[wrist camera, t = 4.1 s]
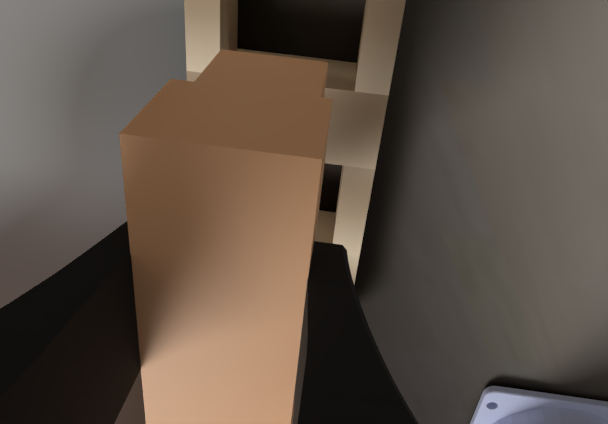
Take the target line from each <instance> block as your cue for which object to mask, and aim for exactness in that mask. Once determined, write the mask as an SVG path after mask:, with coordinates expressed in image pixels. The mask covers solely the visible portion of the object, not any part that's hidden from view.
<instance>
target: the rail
mask: <svg viewBox="0 0 608 424" xmlns="http://www.w3.org/2000/svg"><path fill="white" fill-rule="evenodd" d="M184 1H185V2H184V4H185V32H186V33H185V34H186V63H187V64H186V65H187V81H192V82H194V81H195V80H196V79H197V78H198V77H199V75H200V74H201V73H202V72H203V71H204V69H205V68H206V67H207V66H208V65H209V63H210V62H211V61H212V60H213V58H214V57H215V56H216V55H217V54H218V52H219V51H220V50H221V49H224V50H233V51H241V52H249V53H258V54H266V55H274V56H283V57H291V58H299V59H307V60H316V61H324V62H328V69H327V78H326V87H325V96H324V98H330V99H333V100H332V108H331V116H330V124H329V132H328V140H327V148H326V157H325V163H327V164H335V165H342V171H341V178H340V185H339V192H338V199H337V206H336V212H328V211H321V210H319V214H318V222H317V230H316V238H315V241H318V242H325V243H333V244H340V245H343V246H344V247H345V248H346V250H347V255H348V262H349V267H350V272H351V275H352V279H353V283H354V284H355V278H356V273H357V267H358V262H359V256H360V251H361V245H362V240H363V234H364V229H365V223H366V218H367V212H368V207H369V201H370V196H371V190H372V185H373V179H374V173H375V168H376V162H377V157H378V151H379V146H380V140H381V135H382V129H383V124H384V118H385V113H386V107H387V102H388V96H389V91H390V85H391V80H392V74H393V69H394V63H395V58H396V52H397V47H398V41H399V36H400V30H401V25H402V19H403V14H404V8H405V3H406V0H366V3H365V10H364V17H363V24H362V31H361V38H360V45H359V52H358V59H357V63H355V62H346V61H338V60H330V59H321V58H313V57H305V56H296V55H288V54H280V53H271V52H263V51H255V50H246V49H238V48H237V34H238V0H184Z"/></svg>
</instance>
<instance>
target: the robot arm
mask: <svg viewBox="0 0 608 424" xmlns="http://www.w3.org/2000/svg"><path fill="white" fill-rule="evenodd" d="M140 369H141V363H140V352H139V340H138V329H137V318H136V306H135V295H134V283H133V272H132V260H131V254H130V245H129V234H128V223H127V222H125V223H124V224H123V225H121V226H120V227H119V228H117V229H116V230H115V231H113V232H112V233H110V234H109V235H108V236H107V237H105V238H104V239H102V240H101V241H100V242H98V243H97V244H96V245H94V246H93V247H92V248H90V249H89V250H87V251H86V252H85V253H83V254H82V255H81V256H79V257H78V258H76V259H75V260H74V261H72V262H71V263H69V264H68V265H66V266H65V267H64V268H62V269H61V270H59V271H58V272H57V273H55V274H54V275H52V276H51V277H49V278H48V279H46V280H45V281H43V282H41V283H40V284H39V285H37V286H35V287H34V288H32V289H31V290H29V291H28V292H26V293H25V294H23V295H21V296H20V297H18V298H17V299H15V300H14V301H12V302H10V303H9V304H7V305H6V306H4V307H2V308H1V309H0V424H114V423H115V421H116V419H117V417H118V414H119V412H120V410H121V408H122V406H123V404H124V402H125V400H126V398H127V396H128V394H129V392H130V390H131V388H132V386H133V384H134V382H135V380H136V377H137V375H138V373H139V371H140ZM293 424H418V422H417V420H416V419H415V417H414V415H413V414H412V412H411V411H410V409H409V407H408V406H407V404H406V402H405V400H404V398H403V397H402V395H401V393H400V391H399V389H398V388H397V386H396V384H395V382H394V380H393V378H392V376H391V374H390V372H389V370H388V368H387V366H386V364H385V362H384V360H383V358H382V356H381V354H380V352H379V349H378V347H377V345H376V343H375V341H374V338H373V336H372V333H371V331H370V329H369V326H368V323H367V321H366V318H365V315H364V313H363V310H362V308H361V305H360V302H359V299H358V296H357V293H356V290H355V286H354V283H353V279H352V275H351V272H350V267H349V262H348V255H347V250H346V248H345V247H344V246H343V245H340V244H333V243H325V242H318V241H314V246H313V251H312V257H311V263H310V269H309V276H308V279H307V288H306V297H305V306H304V314H303V323H302V332H301V341H300V349H299V358H298V367H297V375H296V384H295V396H294V418H293ZM470 424H608V402H607V401H600V400H593V399H586V398H579V397H572V396H565V395H558V394H551V393H543V392H536V391H529V390H522V389H515V388H508V387H501V386H490V387H487V388H486V389H485V390H484V391H483V393H482V395H481V398H480V400H479V403H478V405H477V408H476V410H475V412H474V415H473V417H472V420H471V422H470Z"/></svg>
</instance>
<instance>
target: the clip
mask: <svg viewBox="0 0 608 424" xmlns="http://www.w3.org/2000/svg"><path fill="white" fill-rule="evenodd" d="M327 69H328V62H324V61H316V60H307V59H299V58H291V57H283V56H274V55H266V54H258V53H249V52H241V51H233V50H224V49H221V50H220V51H219V52H218V54H217V55H216V56H215V57H214V58H213V60H212V61H211V62H210V63H209V65H208V66H207V67H206V68H205V69H204V71H203V72H202V73H201V74H200V75H199V77H198V78H197V79H196V80H195V81H194V82H192V81H184V80H176V79H170V80H169V82H168V83H167V84H166V85H165V86H164V87H163V88H162V89H161V90H160V91H159V92H158V93H157V94H156V95H155V96H154V97H153V98H152V100H150V102H149V103H148V104H147V105H146V106H145V107H144V108H143V109H142V110H141V111H140V112H139V113H138V114H137V115H136V116H135V117H134V118H133V120H132V121H131V122H130V123H129V124H128V125H127V126H126V127H125V128H124V129H123V130H122V131H121V132H120V133H119V137H120V147H121V158H122V168H123V180H124V190H125V201H126V212H127V223H128V234H129V245H130V254H131V260H132V272H133V283H134V295H135V306H136V318H137V329H138V340H139V352H140V363H141V374H142V385H143V396H144V407H145V418H146V424H292V421H293V414H294V396H295V384H296V375H297V367H298V358H299V349H300V341H301V332H302V323H303V314H304V306H305V297H306V288H307V279H308V276H309V269H310V263H311V257H312V251H313V246H314V241H315V238H316V230H317V222H318V214H319V206H320V197H321V189H322V181H323V173H324V165H325V157H326V148H327V140H328V132H329V124H330V116H331V108H332V100H333V99H330V98H324V96H325V87H326V78H327Z"/></svg>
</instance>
